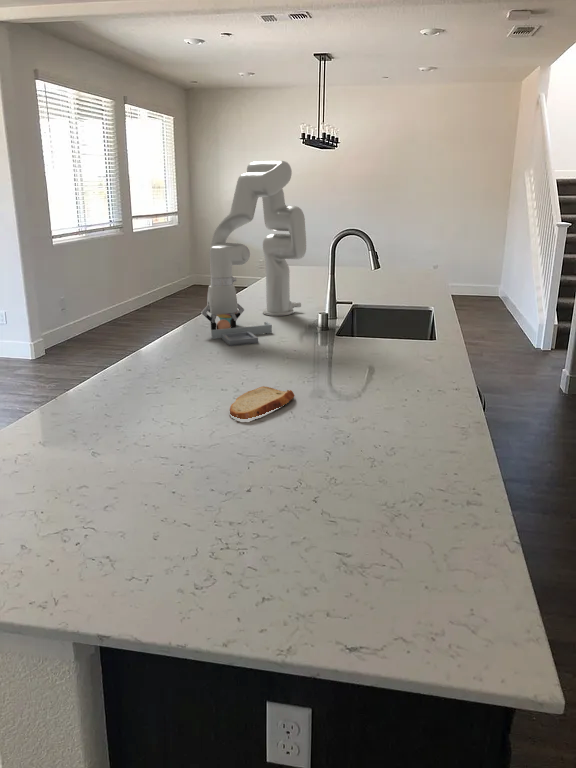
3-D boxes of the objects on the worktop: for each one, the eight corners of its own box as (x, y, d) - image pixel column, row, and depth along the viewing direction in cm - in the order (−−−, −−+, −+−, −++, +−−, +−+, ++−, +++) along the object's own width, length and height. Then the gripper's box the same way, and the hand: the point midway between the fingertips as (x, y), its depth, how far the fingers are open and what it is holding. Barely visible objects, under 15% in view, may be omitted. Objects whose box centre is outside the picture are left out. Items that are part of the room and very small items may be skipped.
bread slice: (233, 425, 146) (233, 410, 145) (220, 399, 163) (220, 386, 162) (308, 417, 151) (308, 402, 150) (288, 393, 167) (288, 379, 166)
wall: (266, 329, 234) (266, 321, 233) (271, 333, 229) (271, 324, 228) (207, 335, 227) (207, 326, 226) (212, 338, 222) (211, 330, 221)
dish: (249, 336, 225) (249, 331, 224) (258, 343, 216) (258, 337, 215) (221, 339, 221) (221, 334, 221) (229, 345, 212) (229, 340, 212)
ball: (228, 331, 233) (228, 317, 231) (232, 334, 228) (231, 320, 227) (215, 332, 231) (214, 318, 229) (218, 335, 226) (218, 321, 225)
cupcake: (238, 327, 238) (237, 295, 234) (215, 327, 238) (213, 295, 234) (240, 322, 246) (239, 291, 242) (218, 322, 246) (216, 291, 242)
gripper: (242, 278, 230) (243, 327, 236) (194, 281, 224) (197, 332, 230) (248, 281, 223) (249, 332, 229) (199, 285, 217) (202, 336, 223)
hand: (223, 331), depth 229 cm, fingers open, 6 cm apart
